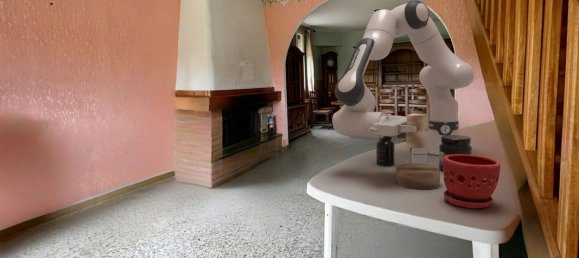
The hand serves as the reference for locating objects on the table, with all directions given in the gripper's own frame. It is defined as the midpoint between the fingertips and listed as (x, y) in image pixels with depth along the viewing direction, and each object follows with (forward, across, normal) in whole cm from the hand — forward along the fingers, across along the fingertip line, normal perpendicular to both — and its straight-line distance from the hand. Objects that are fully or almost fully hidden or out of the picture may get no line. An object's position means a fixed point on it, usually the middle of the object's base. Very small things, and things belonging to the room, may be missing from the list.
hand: (420, 127), depth 105 cm
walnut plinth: (0, 0, +18) cm, 18 cm away
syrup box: (-7, +22, +18) cm, 29 cm away
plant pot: (+16, -10, +18) cm, 26 cm away
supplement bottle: (-18, +18, +18) cm, 31 cm away
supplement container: (+6, +22, +18) cm, 29 cm away
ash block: (-1, 0, +6) cm, 6 cm away
